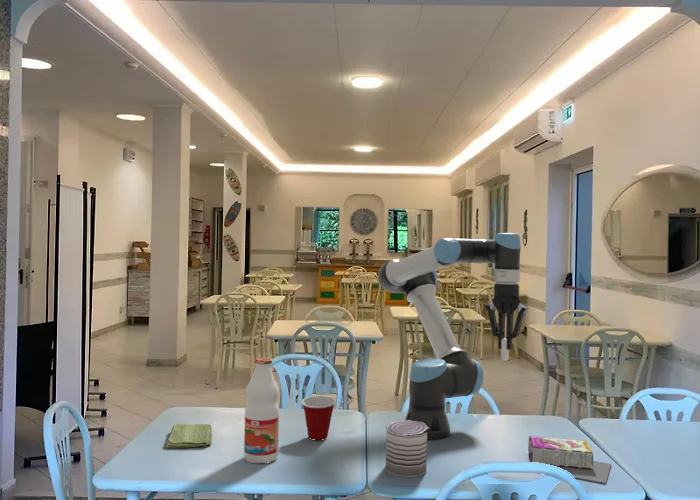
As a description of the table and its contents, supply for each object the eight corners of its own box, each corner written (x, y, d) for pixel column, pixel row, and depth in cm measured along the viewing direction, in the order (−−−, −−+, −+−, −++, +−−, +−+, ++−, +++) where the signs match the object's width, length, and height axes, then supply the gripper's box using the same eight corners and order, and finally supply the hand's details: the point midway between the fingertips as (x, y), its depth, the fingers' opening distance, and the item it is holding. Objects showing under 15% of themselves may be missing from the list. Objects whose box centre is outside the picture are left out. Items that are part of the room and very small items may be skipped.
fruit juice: (283, 455, 172) (286, 357, 172) (267, 466, 163) (269, 363, 163) (254, 451, 175) (257, 354, 175) (237, 461, 166) (239, 360, 166)
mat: (527, 469, 166) (527, 467, 166) (538, 452, 180) (538, 451, 180) (605, 484, 156) (605, 482, 156) (611, 465, 171) (611, 463, 171)
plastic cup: (294, 440, 185) (294, 401, 185) (309, 431, 195) (310, 394, 195) (326, 445, 181) (327, 406, 181) (340, 435, 191) (341, 398, 191)
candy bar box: (528, 434, 180) (586, 440, 176) (527, 451, 180) (586, 457, 176) (531, 446, 169) (594, 452, 165) (531, 464, 169) (593, 470, 165)
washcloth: (165, 451, 174) (165, 440, 174) (171, 432, 192) (172, 422, 192) (211, 449, 177) (211, 438, 177) (213, 431, 194) (214, 421, 194)
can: (433, 475, 160) (434, 430, 160) (393, 479, 156) (394, 433, 156) (416, 460, 171) (417, 418, 171) (378, 463, 167) (380, 420, 167)
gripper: (482, 282, 186) (480, 358, 186) (524, 284, 179) (522, 364, 179) (490, 281, 192) (488, 355, 192) (531, 283, 185) (529, 360, 185)
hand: (504, 359), depth 186 cm, fingers closed
